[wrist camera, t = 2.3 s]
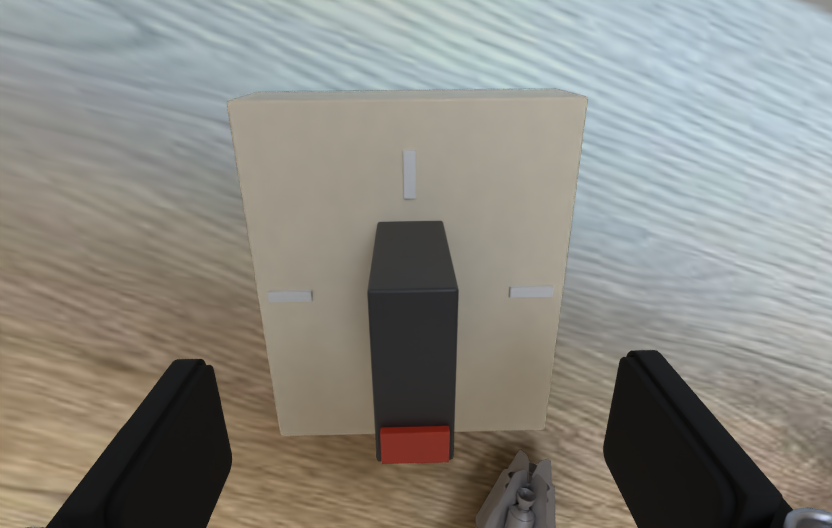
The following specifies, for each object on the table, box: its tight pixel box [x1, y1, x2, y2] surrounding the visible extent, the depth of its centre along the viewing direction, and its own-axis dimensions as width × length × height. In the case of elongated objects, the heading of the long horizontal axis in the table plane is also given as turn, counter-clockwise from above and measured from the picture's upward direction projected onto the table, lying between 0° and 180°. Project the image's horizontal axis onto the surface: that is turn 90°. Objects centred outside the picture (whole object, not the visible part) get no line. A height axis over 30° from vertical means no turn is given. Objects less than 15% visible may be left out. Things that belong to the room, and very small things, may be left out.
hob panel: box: [227, 89, 588, 436], centre depth 17 cm, size 12×10×3 cm
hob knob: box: [367, 221, 459, 464], centre depth 13 cm, size 5×2×5 cm, turn 0°
